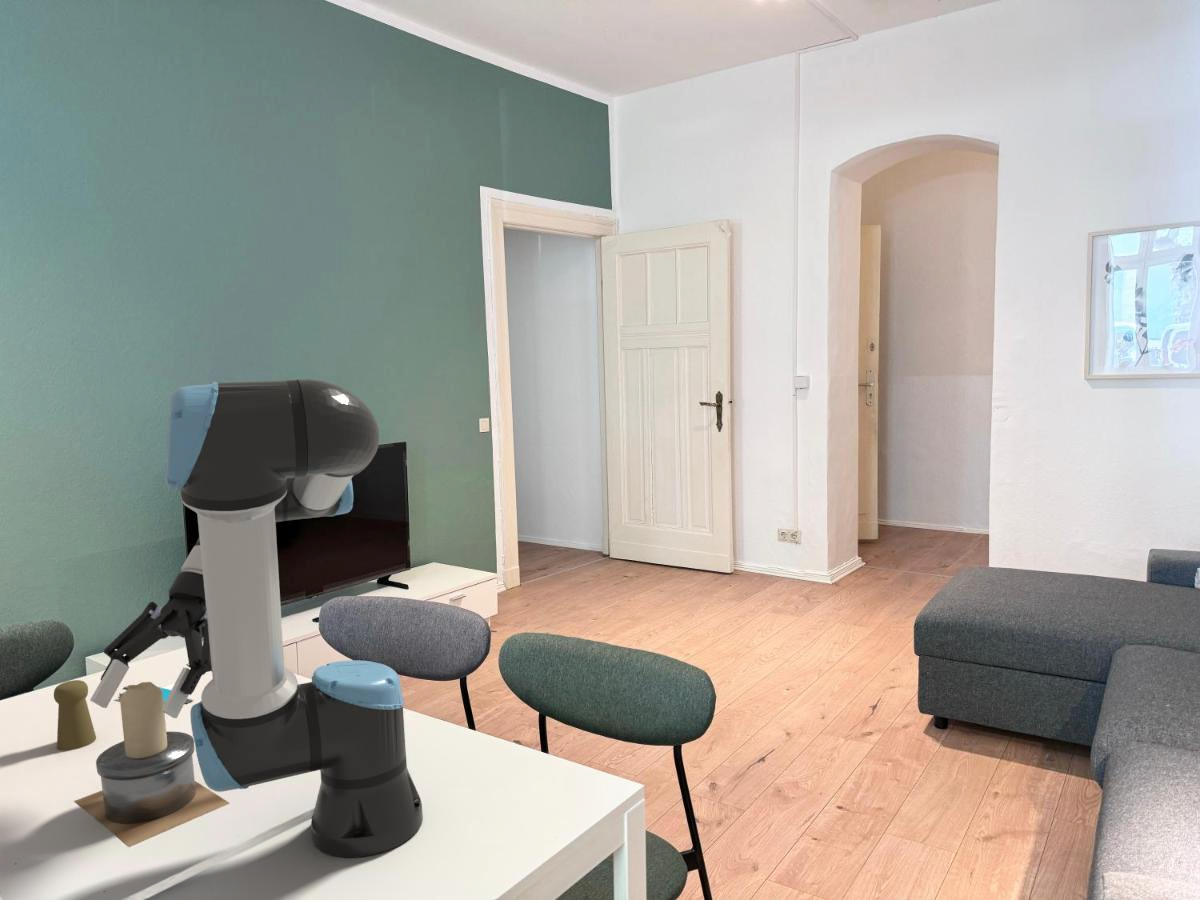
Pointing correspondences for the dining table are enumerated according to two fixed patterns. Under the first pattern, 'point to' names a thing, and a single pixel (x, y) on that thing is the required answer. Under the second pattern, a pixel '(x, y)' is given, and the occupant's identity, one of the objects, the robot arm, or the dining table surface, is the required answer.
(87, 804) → the wooden board
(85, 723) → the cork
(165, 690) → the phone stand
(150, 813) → the round metal tin
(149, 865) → the dining table surface
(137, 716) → the candle
